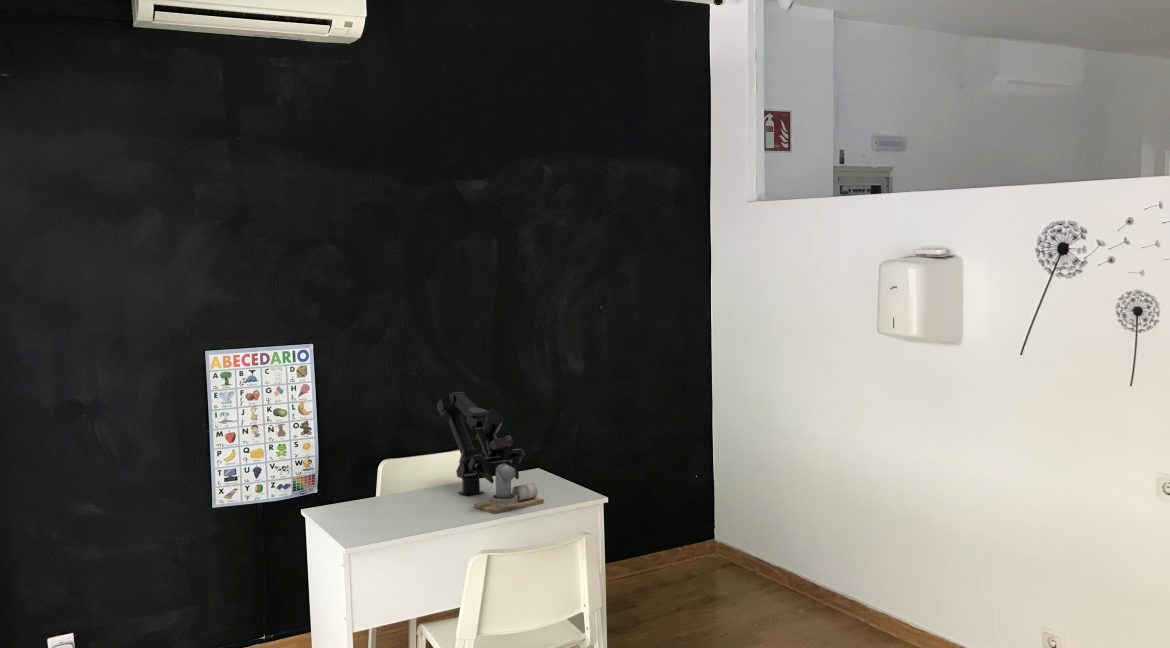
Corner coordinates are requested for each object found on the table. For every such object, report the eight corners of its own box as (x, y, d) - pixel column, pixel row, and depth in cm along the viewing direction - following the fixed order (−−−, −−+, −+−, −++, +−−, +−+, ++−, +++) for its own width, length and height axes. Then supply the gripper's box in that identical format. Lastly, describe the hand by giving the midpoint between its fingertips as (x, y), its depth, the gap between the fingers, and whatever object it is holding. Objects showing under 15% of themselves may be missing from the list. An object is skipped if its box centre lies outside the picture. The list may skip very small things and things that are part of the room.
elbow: (493, 503, 300) (492, 463, 299) (507, 501, 302) (506, 461, 301) (503, 508, 294) (502, 467, 293) (517, 505, 296) (516, 464, 296)
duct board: (474, 507, 300) (473, 488, 300) (523, 496, 313) (522, 479, 312) (494, 514, 291) (493, 495, 291) (543, 502, 304) (543, 484, 303)
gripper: (471, 431, 296) (487, 470, 287) (521, 425, 306) (538, 462, 297) (461, 451, 303) (477, 490, 294) (510, 444, 313) (527, 481, 304)
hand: (505, 480), depth 297 cm, fingers open, 9 cm apart
